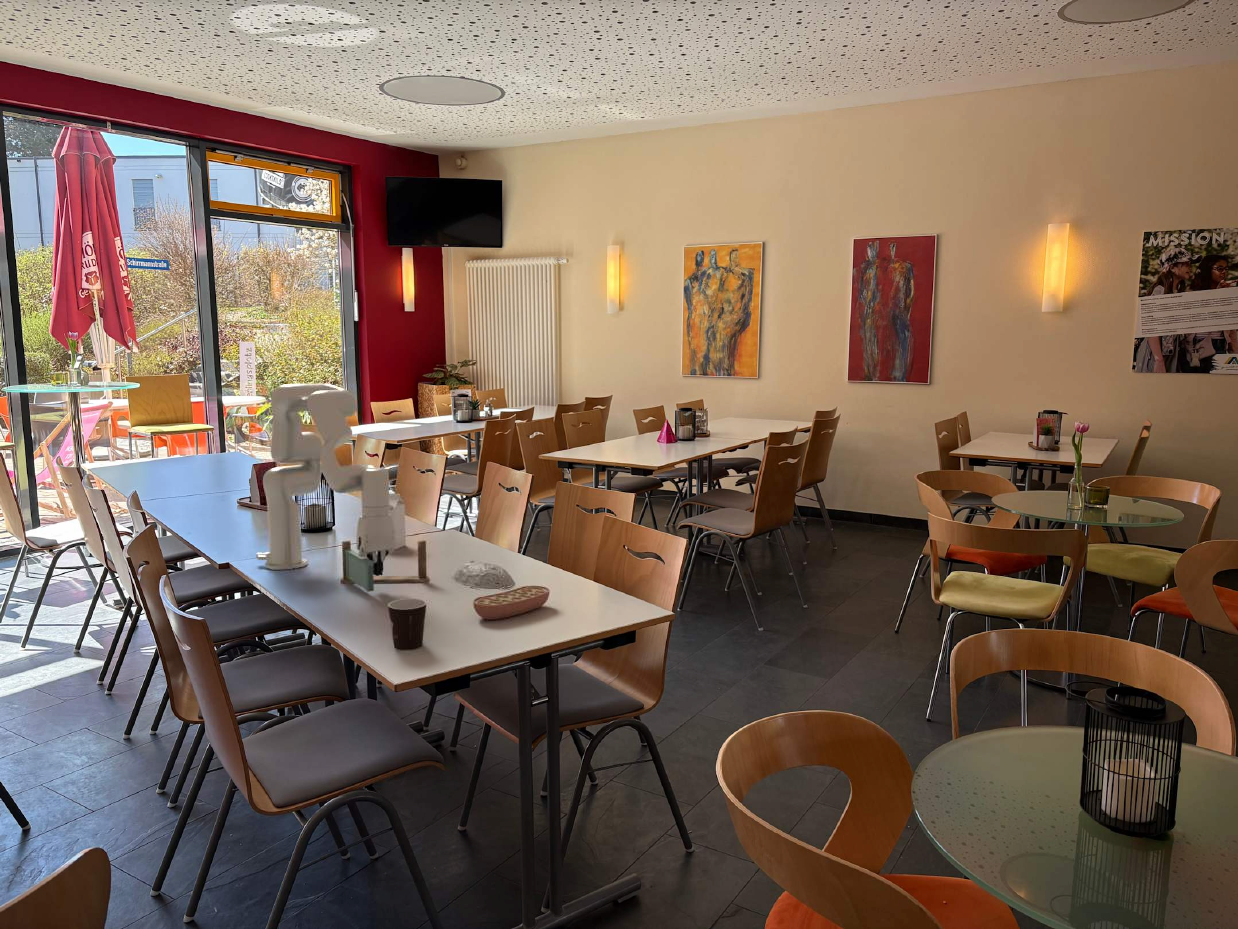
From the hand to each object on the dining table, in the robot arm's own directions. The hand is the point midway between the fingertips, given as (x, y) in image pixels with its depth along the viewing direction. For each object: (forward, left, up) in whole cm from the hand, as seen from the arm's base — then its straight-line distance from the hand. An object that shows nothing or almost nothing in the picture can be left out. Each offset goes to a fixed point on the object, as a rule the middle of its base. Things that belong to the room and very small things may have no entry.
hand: (377, 574), depth 247 cm
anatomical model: (+40, -24, -5) cm, 47 cm away
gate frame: (0, +10, -5) cm, 11 cm away
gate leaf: (-5, +1, -3) cm, 6 cm away
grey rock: (+29, +10, -5) cm, 31 cm away
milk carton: (-7, +56, -5) cm, 57 cm away
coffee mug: (+17, -50, -5) cm, 53 cm away
